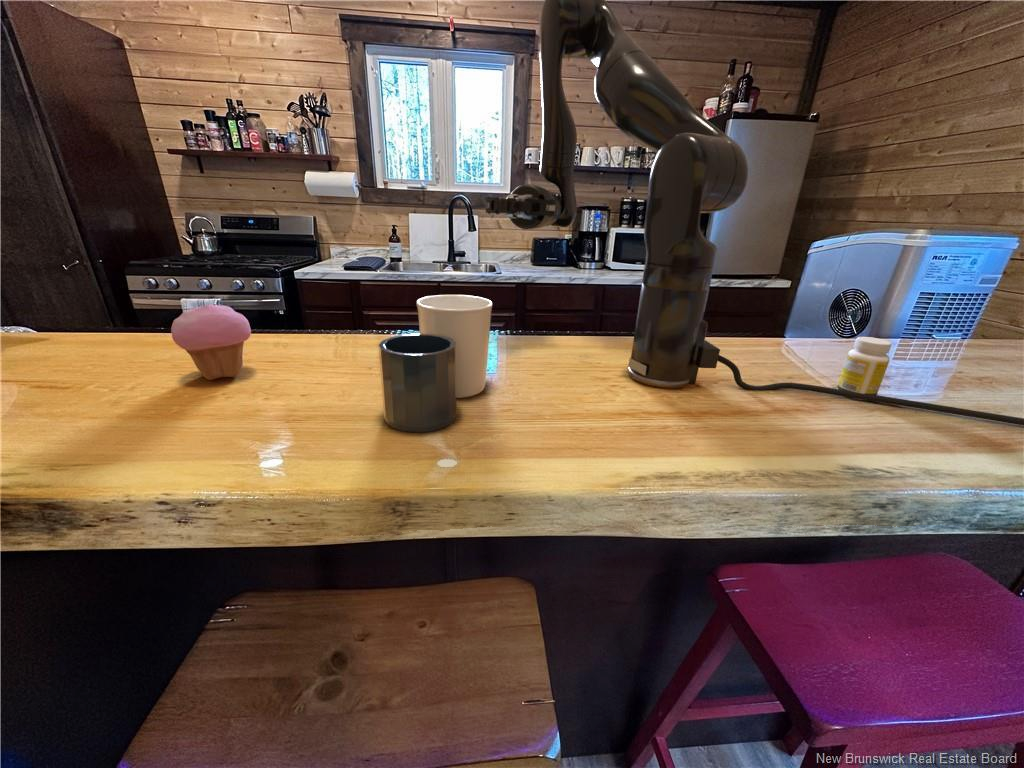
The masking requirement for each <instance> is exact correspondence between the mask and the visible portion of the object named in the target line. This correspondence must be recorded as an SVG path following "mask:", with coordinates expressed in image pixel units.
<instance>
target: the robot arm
mask: <svg viewBox="0 0 1024 768" xmlns="http://www.w3.org/2000/svg"><path fill="white" fill-rule="evenodd" d="M564 59H577V60H579V59H580V60H588V61H589V62H591V63H593V65H595V66H596V72H595V76H594V82H593V84H594V86H593V87H594V95H595V98H596V101H597V104H598V105H599V107H600V109H601V110H602V111H603V112H604V114H605V115H606V116H607V118H608V119H609V120H610V122H611V123H612V124H613V125H614V126H615V127H616V128H617V129H618V130H619V131H620V132H622V133H623V134H624V135H626V136H627V137H629V138H630V139H631V140H633V141H635V142H636V143H638V144H640V145H642V146H643V147H645V148H646V149H648V150H650V151H652V152H653V153H655V154H656V156H655V159H654V161H653V163H652V167H651V170H650V174H649V180H648V190H647V197H646V198H647V199H646V211H645V221H644V229H643V230H644V231H643V239H644V240H643V241H644V245H645V252H646V254H645V261H644V266H643V273H642V281H641V287H640V295H639V300H638V306H637V307H638V308H637V313H636V321H635V325H634V326H635V327H634V332H633V333H634V334H633V335H634V336H633V339H632V340H633V341H632V346H631V347H632V348H631V354H630V357H629V359H628V365H627V367H628V369H627V375H628V376H629V377H630V378H631V379H633V380H634V381H635V382H636V381H637V382H638V383H642V384H644V385H648V386H652V387H657V388H666V389H669V388H670V389H673V388H674V389H675V388H684V387H686V386H691V385H692V386H696V382H697V378H698V374H699V369H717V365H718V363H720V364H722V365H725V366H726V367H728V369H730V371H731V372H732V374H733V379H734V383H735V384H736V385H737V386H738V387H739V388H741V389H743V390H745V391H752V392H753V391H754V392H755V391H756V392H757V391H758V392H759V391H760V392H761V391H762V392H763V391H764V392H765V391H777V390H783V389H787V390H799V391H806V392H814V393H820V394H824V395H825V394H826V395H832V396H838V397H843V398H849V397H850V398H849V399H853V398H856V399H855V400H859V399H863V400H862V401H869V402H876V403H882V404H887V405H893V406H901V407H907V408H914V409H920V410H926V411H933V412H938V413H946V414H949V415H957V416H962V417H968V418H975V419H982V420H986V421H993V422H999V423H1006V424H1012V425H1016V426H1022V427H1023V426H1024V417H1018V416H1012V415H1005V414H999V413H993V412H985V411H980V410H973V409H966V408H961V407H954V406H947V405H941V404H936V403H930V402H924V401H917V400H910V399H904V398H897V397H892V396H885V395H878V394H877V395H872V394H862V393H857V392H852V391H846V390H840V389H837V388H833V387H827V386H821V385H815V384H814V385H813V384H807V383H800V382H799V383H798V382H787V381H785V382H776V383H769V384H764V385H751V384H750V383H749V384H748V383H746V382H744V381H743V379H742V377H741V371H740V369H739V367H738V366H737V365H736V364H735V363H734V362H733V361H731V360H730V359H728V358H727V357H725V356H722V355H721V354H720V353H721V349H720V348H719V347H717V346H716V345H714V344H712V343H711V342H709V341H707V340H706V336H707V331H708V325H709V324H708V321H705V320H704V317H705V316H704V315H705V312H706V307H707V302H708V297H709V292H710V288H711V287H710V286H711V284H712V283H711V282H712V277H713V272H714V267H715V264H716V258H717V255H718V254H717V252H718V250H717V246H716V245H715V244H714V243H713V242H712V241H710V240H708V239H707V238H706V237H705V235H704V234H703V232H702V230H701V223H700V222H701V214H711V213H717V212H721V211H723V210H726V209H728V208H729V207H731V206H733V205H734V204H735V203H736V202H737V201H738V200H739V199H740V198H741V197H742V196H743V195H742V194H743V193H744V191H745V190H746V186H747V183H748V179H749V165H748V160H747V157H746V154H745V152H744V149H742V147H741V146H740V145H739V143H737V142H736V141H735V140H734V139H733V138H732V137H730V136H728V134H726V133H724V132H723V130H721V129H719V128H718V127H717V126H715V124H714V123H711V121H709V120H708V119H707V118H705V117H704V116H703V115H702V114H701V113H700V111H698V110H697V109H696V108H695V107H694V106H693V104H691V102H690V101H689V100H688V98H687V97H686V96H685V95H684V94H683V92H682V91H681V90H680V89H679V88H678V87H677V86H676V85H675V83H674V82H673V81H672V80H671V78H669V77H668V76H667V74H666V73H665V72H664V70H663V69H662V68H661V67H660V66H659V64H657V62H656V61H655V60H654V59H653V58H652V57H651V56H650V55H649V54H648V53H647V52H646V51H645V50H644V49H643V48H642V47H641V46H640V45H639V44H638V43H637V42H636V41H635V39H634V38H633V37H632V36H631V35H630V34H629V33H628V32H627V31H626V30H625V28H624V26H623V25H622V24H621V22H620V21H619V19H618V18H617V16H616V14H615V13H614V11H613V9H612V8H611V6H610V5H609V3H608V2H607V0H544V1H543V4H542V7H541V13H540V19H539V63H540V64H539V65H540V84H541V85H540V87H541V88H540V90H541V107H542V138H541V153H540V165H539V175H540V177H541V179H542V180H544V181H546V182H548V183H551V184H553V185H555V186H556V187H557V189H558V190H559V191H551V190H548V189H546V188H545V187H543V186H539V185H534V184H531V183H527V184H521V185H519V186H517V187H516V188H514V190H512V191H511V193H510V194H506V195H505V197H500V196H496V197H495V196H494V197H492V196H488V197H485V213H486V214H488V215H491V214H495V215H500V214H503V215H505V217H506V218H509V219H510V221H511V223H512V224H513V225H514V226H516V227H517V228H519V229H522V230H535V229H541V228H544V227H547V226H548V227H549V226H550V227H557V228H562V229H567V228H570V227H571V226H572V225H573V223H574V222H575V220H576V218H577V213H578V203H577V197H576V190H575V182H574V181H575V178H574V171H575V170H574V169H575V163H576V162H575V161H576V152H577V142H578V134H577V127H576V124H575V123H576V122H575V120H574V117H573V113H572V112H571V109H570V106H569V104H568V101H567V97H566V95H565V91H564V86H563V78H562V77H563V76H562V72H563V71H562V70H563V60H564Z"/></svg>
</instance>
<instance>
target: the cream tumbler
mask: <svg viewBox="0 0 1024 768" xmlns="http://www.w3.org/2000/svg"><path fill="white" fill-rule="evenodd" d="M493 305H494V304H493V302H492V301H491V300H490V299H489V298H484V297H481V296H474V295H467V294H438V295H436V294H435V295H427V296H424V297H421V298H418V299H417V300H416V308H417V315H418V317H417V318H418V324H419V325H418V327H419V334H433V335H440V336H444V337H447V338H450V339H452V340H453V341H454V342H456V399H463V398H469V397H473V396H476V395H478V394H480V393H481V392H483V391H484V390H485V387H486V382H487V381H486V380H487V369H488V358H489V345H490V334H491V333H490V332H491V324H492V323H491V321H492V311H493Z"/></svg>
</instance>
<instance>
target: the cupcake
mask: <svg viewBox="0 0 1024 768" xmlns="http://www.w3.org/2000/svg"><path fill="white" fill-rule="evenodd" d="M170 332H171V338H172V340H173V342H174V343H175V344H176V345H177V346H178V348H181V349H182V350H185V352H186V353H188V355H189V356H190V358H191V360H192V361H193V363H194V365H195V367H196V368H197V370H198V371H199V372H200V374H201V375H202V376H203V377H204V378H205V379H206V380H209V381H213V380H216V379H219V378H223V377H224V378H234V377H237V376H239V375H240V373H241V371H242V368H243V366H244V365H243V364H244V363H243V360H244V359H243V350H244V346H245V345H244V344H245V342H247V341H248V340H249V339H250V337H251V335H252V329H251V326H250V322H249V320H248V318H246V317H245V316H244V315H243V314H242V313H240V312H237V311H236V310H234V309H233V308H232V307H230V306H228V305H221V304H218V305H217V304H215V305H214V304H205V305H203V306H199V307H193V308H191V309H188V310H184V311H182V313H181V314H180V315H179V316H178V317H177V318H175V319H174V320H173V322H172V325H171V328H170Z"/></svg>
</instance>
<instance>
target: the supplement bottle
mask: <svg viewBox="0 0 1024 768" xmlns="http://www.w3.org/2000/svg"><path fill="white" fill-rule="evenodd" d="M892 345H893V344H892V342H891V341H889V340H886V339H883V338H880V337H879V338H878V337H872V336H871V337H870V336H858V337H856V339H855V342H854V345H853V348H854V349H851V350H850V351H848V354H847V355H846V359H845V362H844V365H843V368H842V371H841V374H840V377H839V380H838V384H837V386H836V389H840V390H846V391H852V392H857V393H862V394H872V395H878V393H879V390H880V387H881V385H882V383H883V380H884V377H885V374H886V372H887V369H888V366H889V364H890V356H889V355H888V354H889V353H890V351H891V348H892ZM848 398H849V399H851V398H850V397H848ZM852 399H854V400H857V399H856V398H852ZM858 400H860V401H864V400H863V399H858Z"/></svg>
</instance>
